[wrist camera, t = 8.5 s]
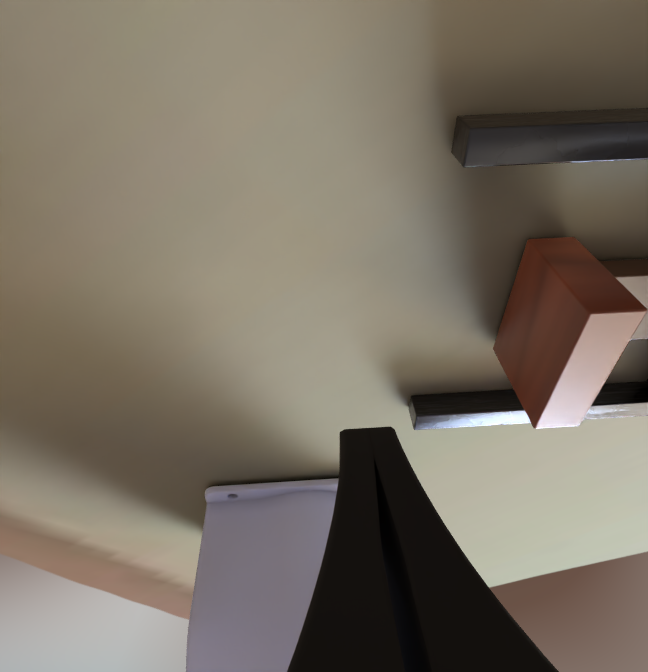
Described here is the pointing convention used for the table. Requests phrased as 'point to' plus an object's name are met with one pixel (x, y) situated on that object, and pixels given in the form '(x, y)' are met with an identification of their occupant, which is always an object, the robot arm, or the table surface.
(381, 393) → the table surface
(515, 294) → the carrier
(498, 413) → the rails
